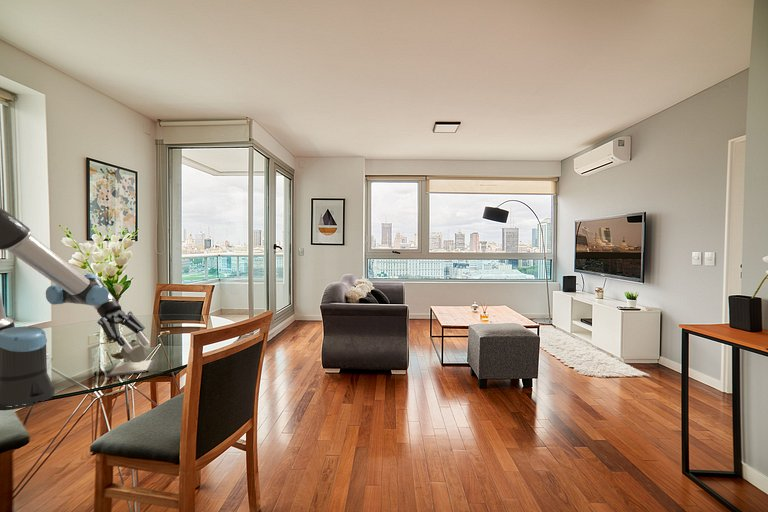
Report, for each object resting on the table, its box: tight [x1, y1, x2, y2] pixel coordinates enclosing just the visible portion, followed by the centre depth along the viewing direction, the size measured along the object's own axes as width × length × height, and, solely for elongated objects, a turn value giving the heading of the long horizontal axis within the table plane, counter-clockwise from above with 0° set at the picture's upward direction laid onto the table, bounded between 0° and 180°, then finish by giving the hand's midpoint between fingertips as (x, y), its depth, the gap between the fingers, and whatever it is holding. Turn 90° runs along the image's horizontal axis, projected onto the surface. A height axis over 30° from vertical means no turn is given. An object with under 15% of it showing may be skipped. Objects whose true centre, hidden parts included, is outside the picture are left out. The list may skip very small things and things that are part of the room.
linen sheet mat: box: [105, 359, 155, 378], centre depth 151 cm, size 14×14×1 cm
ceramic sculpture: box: [110, 339, 150, 363], centre depth 152 cm, size 11×9×15 cm
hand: (138, 347), depth 150 cm, fingers closed on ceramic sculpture, 7 cm apart
